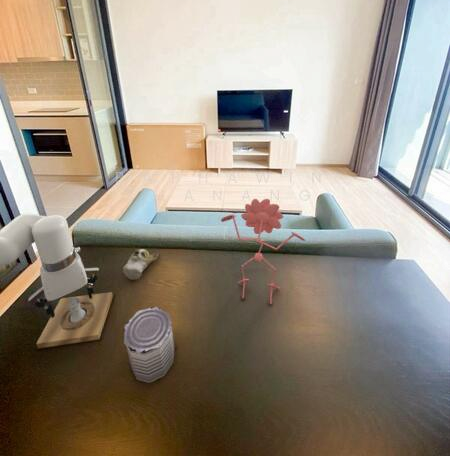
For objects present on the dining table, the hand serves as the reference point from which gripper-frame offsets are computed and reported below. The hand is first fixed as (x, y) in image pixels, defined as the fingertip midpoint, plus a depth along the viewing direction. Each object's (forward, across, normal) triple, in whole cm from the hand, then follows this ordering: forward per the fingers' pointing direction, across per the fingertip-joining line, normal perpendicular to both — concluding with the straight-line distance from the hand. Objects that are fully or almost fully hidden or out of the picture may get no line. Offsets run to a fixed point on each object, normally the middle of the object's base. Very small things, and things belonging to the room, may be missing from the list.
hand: (72, 304), depth 72 cm
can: (+6, -14, +24) cm, 29 cm away
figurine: (+5, -53, +26) cm, 59 cm away
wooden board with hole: (+7, -1, 0) cm, 7 cm away
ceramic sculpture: (+6, -23, -8) cm, 25 cm away
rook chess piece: (+7, -1, 0) cm, 7 cm away
